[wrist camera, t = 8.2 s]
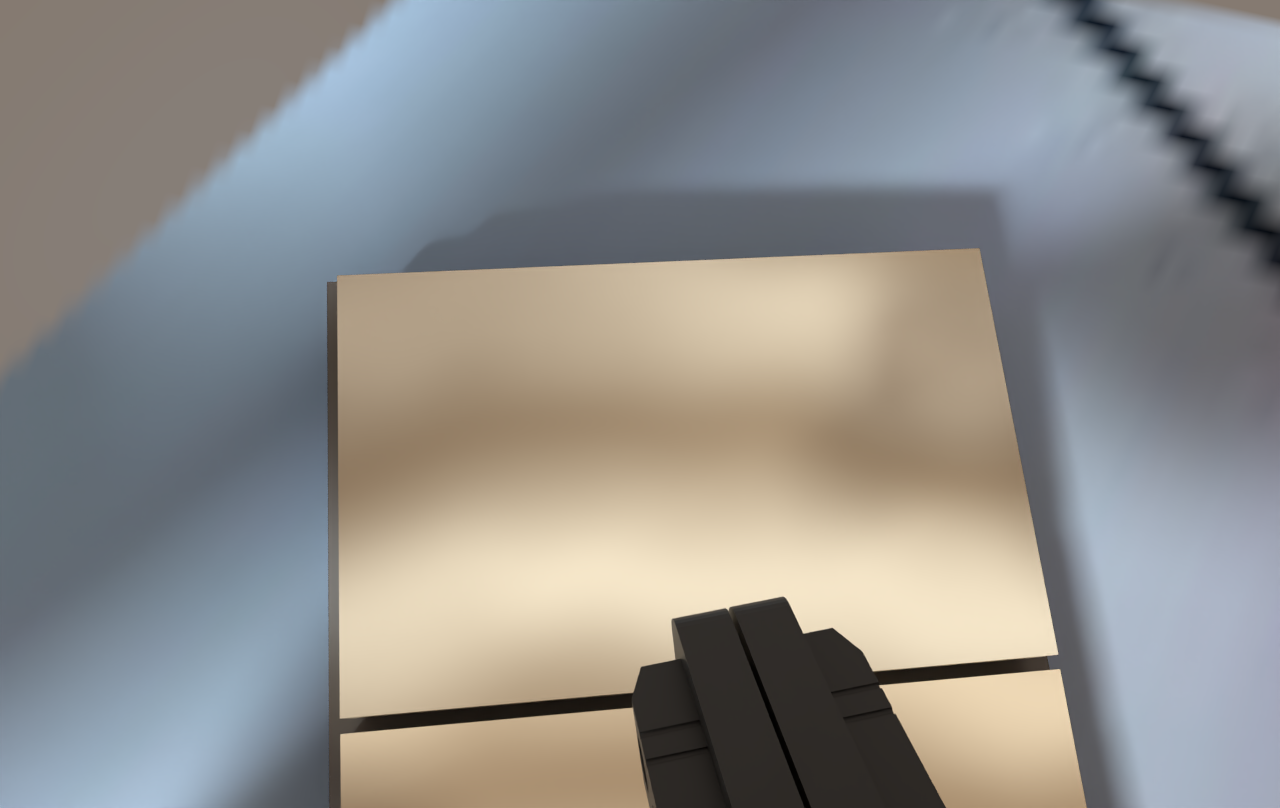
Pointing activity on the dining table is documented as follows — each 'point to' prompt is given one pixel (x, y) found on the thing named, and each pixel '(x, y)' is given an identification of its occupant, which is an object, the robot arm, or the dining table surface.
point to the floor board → (607, 740)
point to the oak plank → (671, 470)
